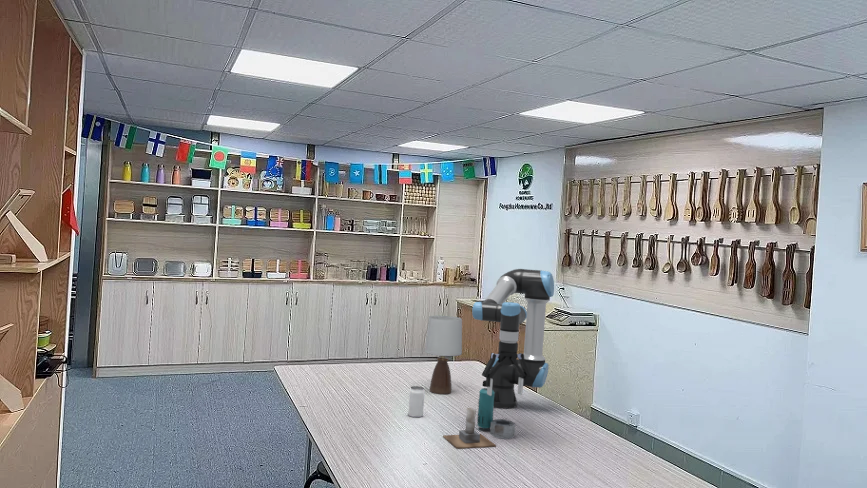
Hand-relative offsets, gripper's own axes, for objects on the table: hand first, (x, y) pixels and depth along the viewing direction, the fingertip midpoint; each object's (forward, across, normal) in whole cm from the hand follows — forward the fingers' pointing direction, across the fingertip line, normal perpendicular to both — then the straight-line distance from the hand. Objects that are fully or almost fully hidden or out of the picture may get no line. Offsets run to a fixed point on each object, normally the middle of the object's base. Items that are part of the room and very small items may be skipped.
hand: (504, 394), depth 261 cm
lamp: (+16, -1, -70) cm, 72 cm away
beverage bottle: (+16, +4, -8) cm, 19 cm away
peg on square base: (+16, +17, +6) cm, 24 cm away
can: (+16, +26, -31) cm, 44 cm away
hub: (+16, 0, 0) cm, 16 cm away
